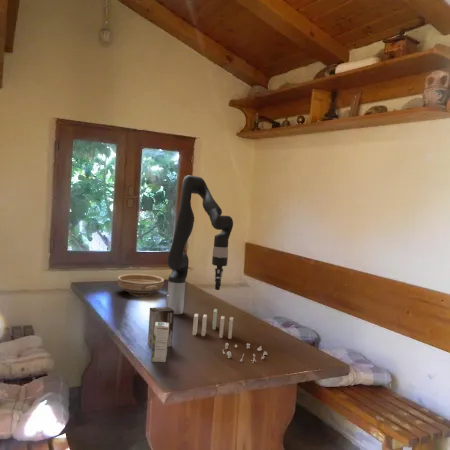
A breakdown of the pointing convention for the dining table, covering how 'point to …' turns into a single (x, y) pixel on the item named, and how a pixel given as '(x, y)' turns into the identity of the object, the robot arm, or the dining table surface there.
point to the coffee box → (160, 316)
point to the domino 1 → (195, 324)
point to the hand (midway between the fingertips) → (217, 288)
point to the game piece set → (243, 354)
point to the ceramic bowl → (140, 284)
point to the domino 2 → (204, 325)
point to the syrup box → (160, 342)
